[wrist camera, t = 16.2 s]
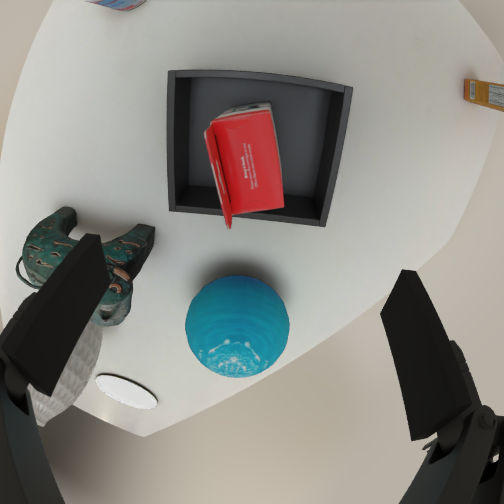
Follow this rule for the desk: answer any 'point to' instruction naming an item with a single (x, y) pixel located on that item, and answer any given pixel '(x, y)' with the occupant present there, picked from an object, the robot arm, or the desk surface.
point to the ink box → (245, 160)
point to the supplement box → (485, 94)
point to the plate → (126, 392)
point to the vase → (70, 376)
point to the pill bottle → (118, 3)
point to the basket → (287, 130)
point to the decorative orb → (237, 326)
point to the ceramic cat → (116, 255)
